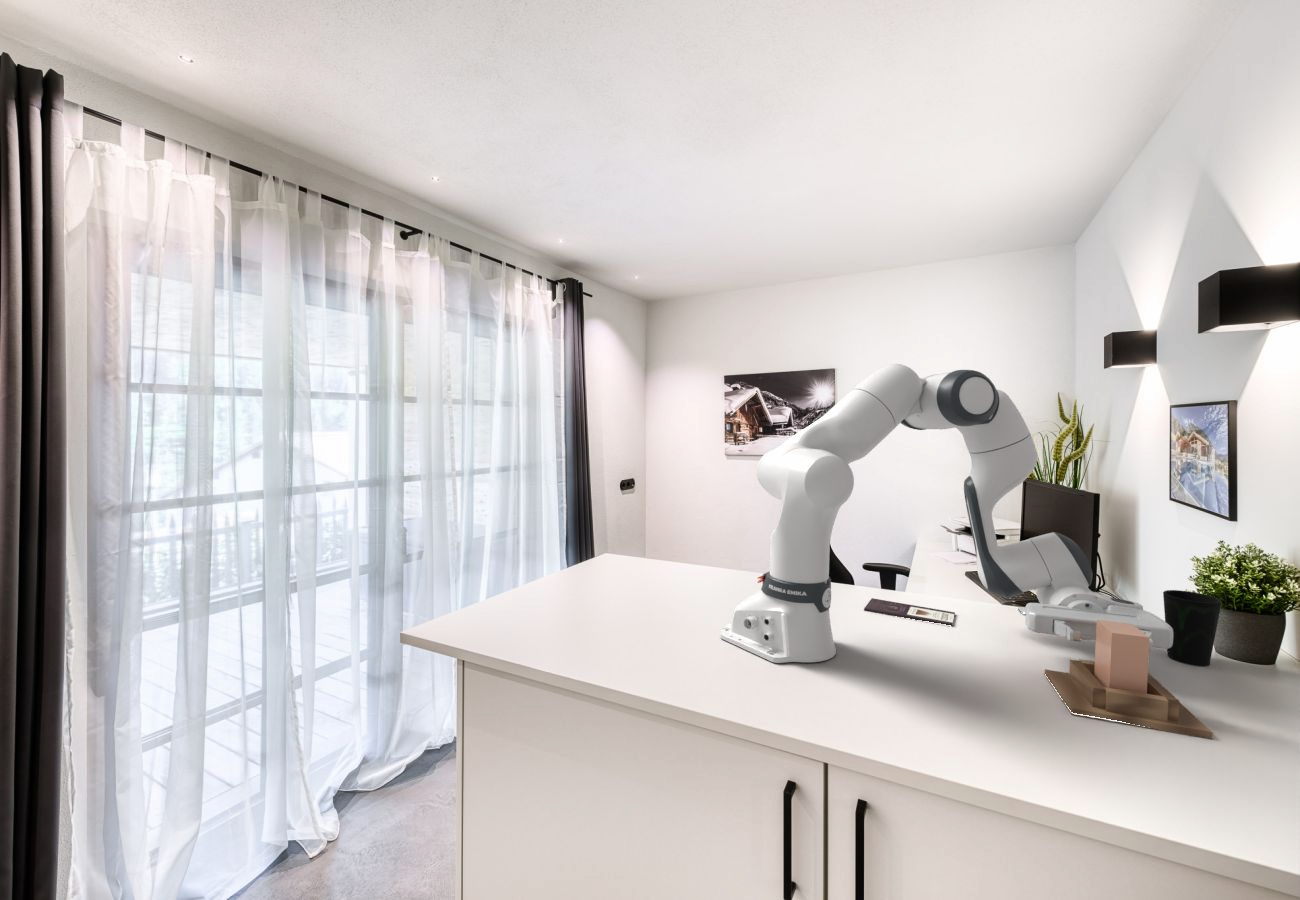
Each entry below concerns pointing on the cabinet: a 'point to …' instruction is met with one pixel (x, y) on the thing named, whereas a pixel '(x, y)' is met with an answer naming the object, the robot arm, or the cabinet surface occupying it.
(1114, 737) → the cabinet surface
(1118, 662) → the peach rectangular block
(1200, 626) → the cup
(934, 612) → the chocolate bar
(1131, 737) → the cabinet surface
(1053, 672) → the wooden tray with base
